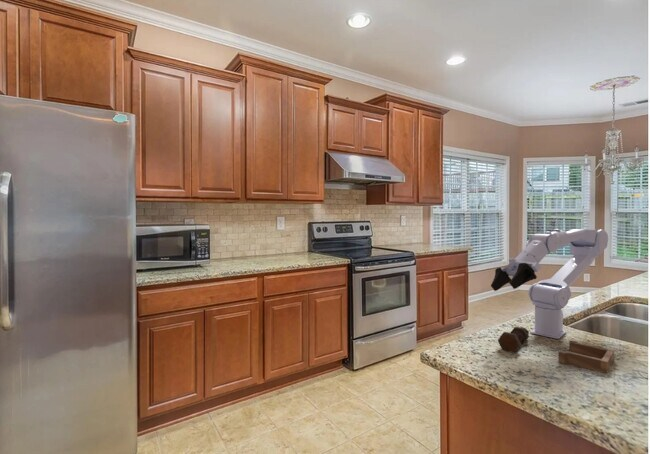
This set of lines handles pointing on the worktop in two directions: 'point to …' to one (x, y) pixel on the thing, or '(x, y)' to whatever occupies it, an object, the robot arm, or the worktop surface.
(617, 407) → the worktop surface
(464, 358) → the worktop surface
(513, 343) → the bolt
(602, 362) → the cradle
